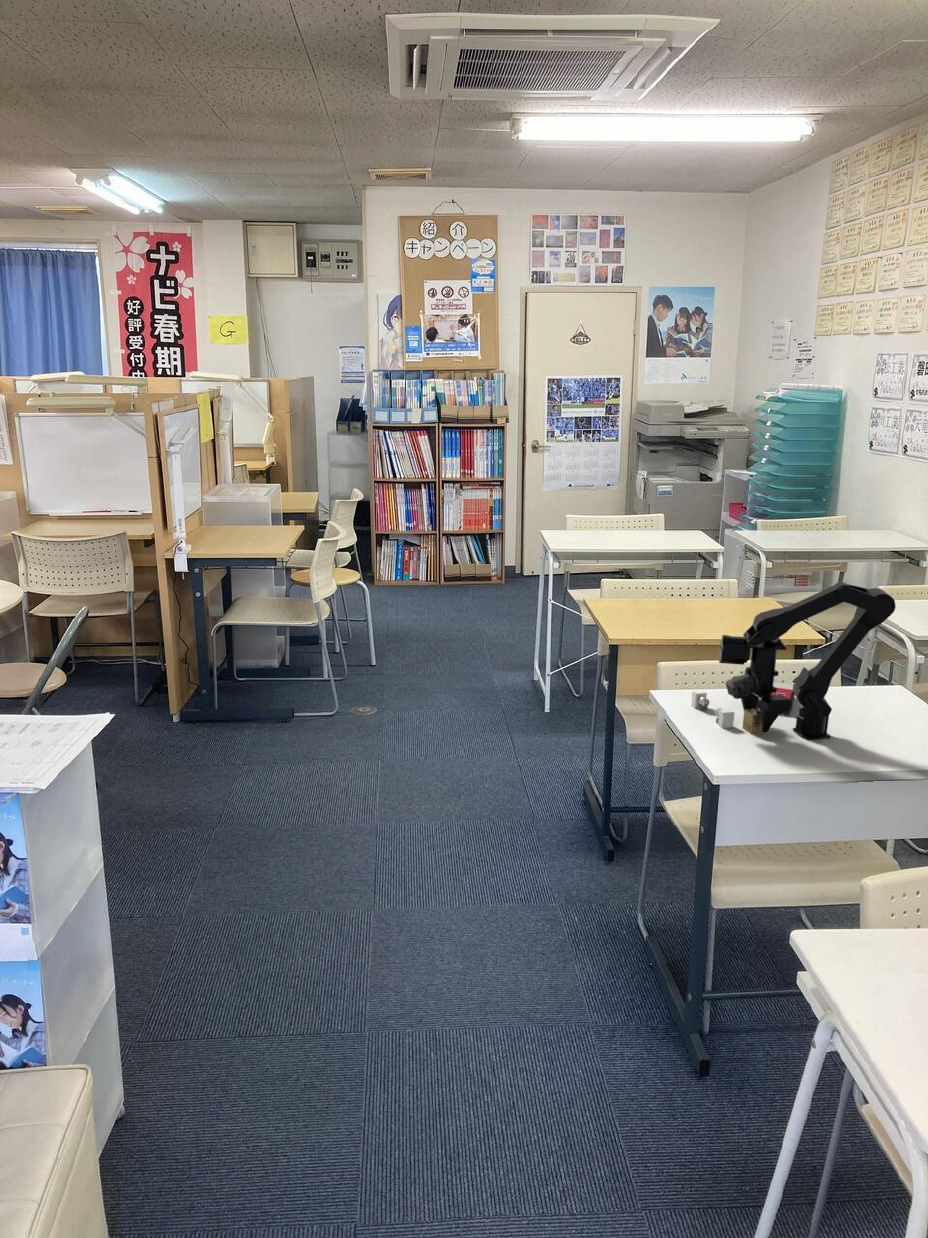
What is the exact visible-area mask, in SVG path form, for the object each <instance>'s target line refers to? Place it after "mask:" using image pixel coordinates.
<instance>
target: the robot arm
mask: <svg viewBox="0 0 928 1238" xmlns="http://www.w3.org/2000/svg"><path fill="white" fill-rule="evenodd" d="M842 603H846V604H850V605H852V606H854V607H856V609H855V612H854V616H853V618H852V620H851V621H850V622H849V623H848V625H847V626H846V627H845V629H843V631H842V632H841V633H840V635H839V636H838V637H837V639H836V640H835V642H834V643H833V644H832V645H831V647H830V648H829V649H828V650H827V652H826V653H825V654H824V655H823V657H821V659H820V660H819V662H818V663H817V664H816V665H815V666H814V667H812V668H810V669H808V668H806V667H803V668H802V669H801V671H800V673H799V674H798V675H797V677H794V679H793V681H794V683H793V684H792V685H793V692H794V694H795V697H796V699H797V701H798V702H799V705H801V706H802V707H801V708H799V709H798V714H797V715H796V720H795V721H796V722H795V727H793V728H792V731H794V732H795V733H796V734H798V735H800V736H801V737H802V738H804V739H806V740H820V739H830V738H831V737H832V736H831V734H829V733H828V727H829V718H830V714H831V712H832V707H831V706H830V704H829V703H828V701H827V699H826V698H825V697H826V695H827V693H828V691H829V688H830V685H831V681H832V679H833V677H835V675H836V674H837V672H838V671H839V670H840V669H841V668H842V666H843V665H844V664H845V662H846V661H847V660H848V659H849V657H850V656H851V655H852V653H853V652H854V651H855V650H856V648H857V647H858V646H859V645H860V644H861V642H863V640H864V638H865V637H866V636H867V635H868V634H869V632H871V630H873V629H874V628H876V627H878V626H879V625H882V624H883V623H884V622H886V620H887V619H889V618H890V617H891V616H892V615H893V613H894V612H895V611H896V608H897V606H896V601H895V599H894V598H893V597H892V596H891V595H890V594H889V593H887V592H886V591H885V590H883V589H882V588H878V587H875V588H865V587H862V586H857V585H853V584H850V583H847V582H844V581H839V582H836V583H834V584H833V585H832V586H829V587H827V588H825V589H822V590H821V591H819V592H817V593H814V594H812V595H810V596H808V597H806V598H804V599H801V600H799V601H798V602H797V601H796V602H795V603H792V604H791V605H789V606H786V607H781V608H774V609H773V608H772V609H770V610H765V611H762V612H760V613H758V614H757V615H755V616H754V618H753V621H752V625H750V627H749V628H748V629H746V631H745V632H744V633H743V636H736V635H735V636H732V635H728V634H723V635H721V640H720V643H719V644H720V645H719V647H718V663H719V664H725V665H726V664H727V665H741V666H743V665H745V664H747V662H749V661H750V665H749V666H746V668H745V669H744V674H740V675H736V676H735V675H734V676H732V677H731V678H730V679H728V680H726V681H725V685H726V689H727V694H728V695H729V696H731V697H733V698H734V699H736V700H741V704H742V707H743V710H744V709H751V708H755V707H756V705H757V703H758V700H759V697H760V698H761V703H760V704H761V706H759V707H758V708H759V709H760V710H761V712H762V732H767V731H768V730H769V728H770V729H771V728H772V726H773V724H774V723H775V721H776V720H777V718H779V716H780V715H782V714H781V712H782V711H790V712H791V711H792V709H793V704H792V702H791V700H790V699H788V698H787V697H785V696H783V695H782V694H779V695H771V693H772V692H776V691H777V688H776V687H774V686H773V684H774V682H775V677H778V676H779V671H777V670H776V664H777V655H778V650H779V651H786V650H787V646H786V645H785V644H784V642H782V640H781V638H780V637H782V636H784V635H785V634H786V633H788V632H789V630H790V629H792V628H793V627H794V626H795V625H797V624H798V623H801V622H803V621H805V620H807V619H810V618H812V617H814V616H816V615H818V614H820V613H822V612H824V611H827V610H829V609H831V608H834V607H835V606H839V605H840V604H842Z"/></svg>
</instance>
